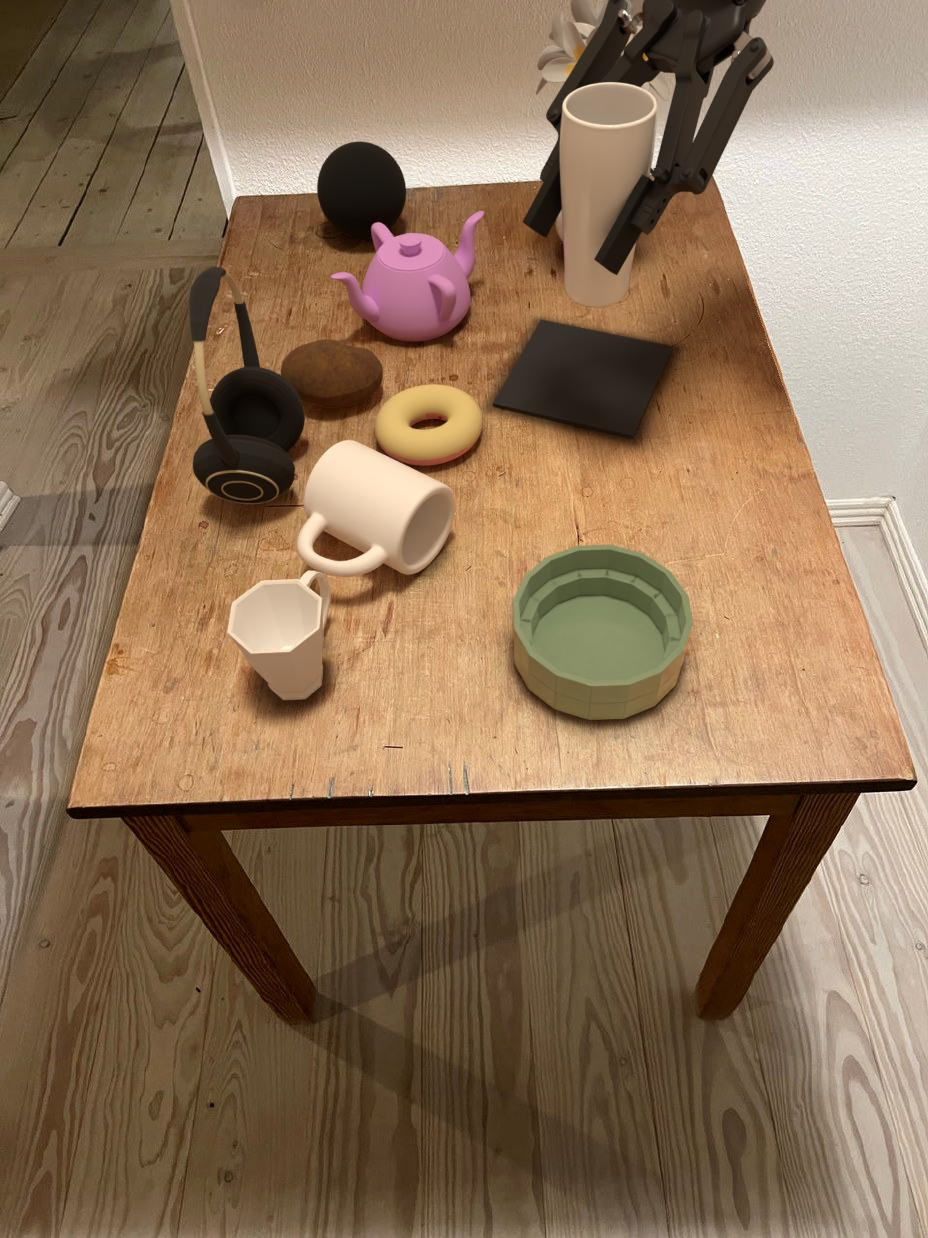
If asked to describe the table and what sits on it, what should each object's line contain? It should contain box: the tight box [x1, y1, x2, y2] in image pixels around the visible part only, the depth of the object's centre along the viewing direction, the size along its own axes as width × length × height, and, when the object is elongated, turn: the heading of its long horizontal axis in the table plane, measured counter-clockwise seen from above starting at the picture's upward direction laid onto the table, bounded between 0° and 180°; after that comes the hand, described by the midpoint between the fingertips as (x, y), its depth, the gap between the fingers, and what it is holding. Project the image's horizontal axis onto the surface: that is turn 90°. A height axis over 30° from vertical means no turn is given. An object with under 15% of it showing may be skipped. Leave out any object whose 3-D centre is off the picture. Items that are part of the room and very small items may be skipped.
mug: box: [296, 439, 457, 578], centre depth 77 cm, size 12×10×8 cm
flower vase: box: [535, 0, 670, 243], centre depth 96 cm, size 13×18×25 cm
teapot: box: [330, 210, 485, 343], centre depth 97 cm, size 12×14×9 cm
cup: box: [226, 570, 332, 701], centre depth 71 cm, size 7×10×8 cm
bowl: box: [512, 544, 694, 721], centre depth 71 cm, size 13×13×5 cm
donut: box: [374, 383, 484, 466], centre depth 88 cm, size 10×5×9 cm
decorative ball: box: [316, 141, 407, 240], centre depth 107 cm, size 10×10×10 cm
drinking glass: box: [560, 82, 659, 309], centre depth 72 cm, size 7×7×15 cm
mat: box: [492, 319, 673, 440], centre depth 93 cm, size 14×14×1 cm
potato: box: [280, 338, 384, 409], centre depth 90 cm, size 7×10×6 cm
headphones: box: [188, 266, 306, 505], centre depth 79 cm, size 9×15×20 cm, turn 179°
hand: (569, 247), depth 72 cm, fingers closed on drinking glass, 7 cm apart
